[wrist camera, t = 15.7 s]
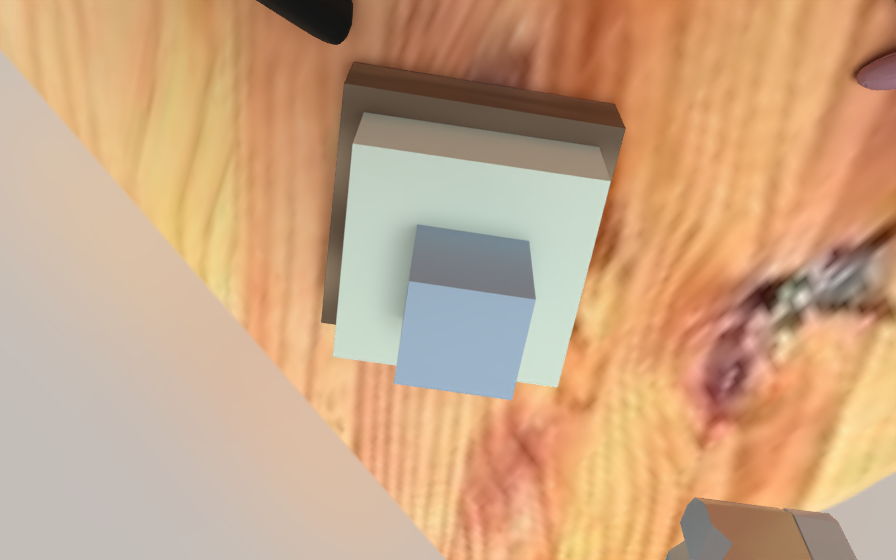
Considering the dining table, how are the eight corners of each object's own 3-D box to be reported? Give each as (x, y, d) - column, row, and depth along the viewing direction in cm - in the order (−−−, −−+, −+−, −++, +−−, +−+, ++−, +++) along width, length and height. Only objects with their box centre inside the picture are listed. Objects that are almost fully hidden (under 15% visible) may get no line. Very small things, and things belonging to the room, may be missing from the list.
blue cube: (417, 224, 37) (409, 281, 33) (529, 241, 38) (535, 299, 33) (403, 319, 40) (394, 383, 36) (508, 334, 40) (512, 400, 36)
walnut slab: (355, 59, 42) (344, 83, 39) (613, 101, 43) (625, 128, 39) (332, 284, 48) (321, 322, 45) (557, 317, 49) (563, 357, 46)
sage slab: (363, 112, 39) (352, 143, 36) (599, 147, 40) (610, 181, 36) (344, 312, 45) (332, 356, 41) (551, 341, 45) (557, 387, 42)
